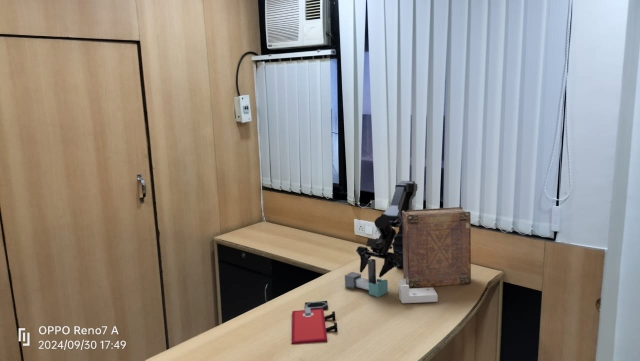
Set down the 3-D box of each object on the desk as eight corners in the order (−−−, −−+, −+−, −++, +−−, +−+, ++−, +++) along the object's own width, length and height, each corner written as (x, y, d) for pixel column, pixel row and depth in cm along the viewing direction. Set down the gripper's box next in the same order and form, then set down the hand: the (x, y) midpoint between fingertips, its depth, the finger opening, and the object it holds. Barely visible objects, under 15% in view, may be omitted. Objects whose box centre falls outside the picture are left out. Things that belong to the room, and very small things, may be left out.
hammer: (353, 285, 191) (352, 257, 189) (357, 283, 193) (356, 255, 192) (376, 292, 184) (375, 262, 182) (381, 289, 186) (380, 260, 184)
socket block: (368, 294, 184) (368, 282, 183) (378, 289, 189) (378, 277, 188) (378, 297, 181) (378, 284, 180) (387, 292, 186) (387, 279, 185)
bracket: (402, 305, 173) (401, 286, 172) (398, 297, 180) (398, 279, 179) (437, 304, 174) (437, 284, 172) (432, 296, 180) (432, 277, 179)
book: (462, 276, 199) (462, 206, 194) (470, 284, 190) (471, 211, 185) (403, 280, 197) (401, 210, 193) (408, 288, 188) (407, 215, 184)
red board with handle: (332, 302, 179) (292, 305, 178) (331, 295, 178) (292, 298, 178) (339, 342, 149) (292, 346, 149) (338, 334, 149) (291, 338, 148)
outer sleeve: (345, 287, 193) (344, 275, 192) (352, 283, 197) (352, 271, 196) (353, 289, 190) (353, 277, 189) (361, 285, 194) (360, 274, 193)
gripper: (357, 226, 192) (341, 260, 186) (396, 233, 180) (380, 269, 173) (370, 240, 199) (354, 273, 193) (408, 248, 187) (393, 283, 180)
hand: (369, 274), depth 185 cm, fingers open, 9 cm apart
